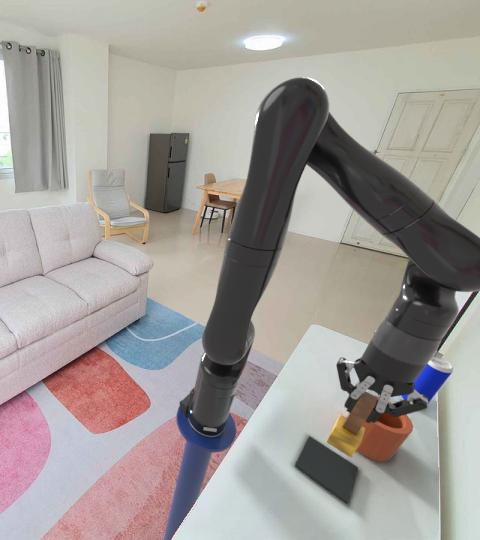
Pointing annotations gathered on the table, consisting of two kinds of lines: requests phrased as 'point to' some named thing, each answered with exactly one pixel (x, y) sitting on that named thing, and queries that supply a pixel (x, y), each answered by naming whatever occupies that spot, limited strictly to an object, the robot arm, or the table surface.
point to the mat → (327, 468)
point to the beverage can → (432, 377)
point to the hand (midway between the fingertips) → (358, 414)
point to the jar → (384, 436)
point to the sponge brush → (352, 425)
